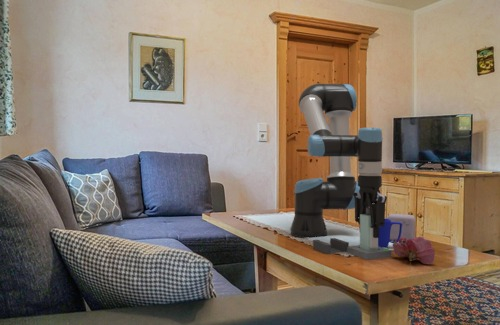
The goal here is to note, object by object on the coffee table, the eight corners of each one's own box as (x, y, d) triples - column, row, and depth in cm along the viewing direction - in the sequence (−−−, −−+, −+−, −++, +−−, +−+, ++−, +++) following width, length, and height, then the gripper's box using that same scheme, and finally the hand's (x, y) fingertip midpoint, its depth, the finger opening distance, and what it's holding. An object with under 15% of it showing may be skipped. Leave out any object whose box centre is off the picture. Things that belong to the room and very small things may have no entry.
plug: (359, 250, 130) (360, 207, 130) (369, 249, 132) (369, 206, 131) (368, 253, 126) (368, 208, 126) (377, 252, 128) (378, 208, 128)
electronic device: (386, 240, 153) (386, 214, 153) (388, 238, 158) (388, 213, 157) (413, 243, 149) (414, 216, 149) (414, 240, 153) (415, 215, 153)
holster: (313, 250, 137) (313, 240, 137) (334, 248, 140) (334, 238, 140) (326, 255, 129) (326, 245, 129) (348, 253, 133) (348, 242, 133)
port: (346, 254, 131) (346, 245, 131) (370, 251, 136) (370, 242, 136) (367, 261, 122) (367, 252, 122) (391, 258, 126) (391, 249, 126)
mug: (403, 250, 137) (404, 222, 137) (367, 248, 139) (368, 220, 139) (399, 245, 145) (400, 218, 145) (365, 243, 147) (366, 217, 147)
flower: (402, 267, 128) (418, 241, 129) (426, 278, 119) (442, 251, 120) (380, 249, 124) (397, 223, 126) (403, 260, 115) (420, 232, 116)
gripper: (344, 173, 135) (343, 241, 135) (379, 176, 119) (378, 252, 120) (361, 173, 138) (360, 239, 138) (397, 176, 122) (397, 250, 123)
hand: (368, 245), depth 129 cm, fingers closed on plug, 4 cm apart
